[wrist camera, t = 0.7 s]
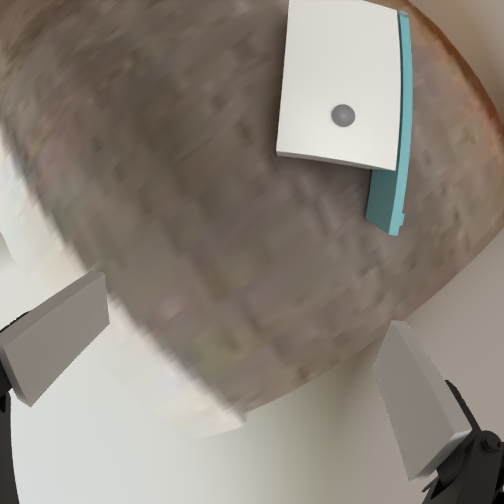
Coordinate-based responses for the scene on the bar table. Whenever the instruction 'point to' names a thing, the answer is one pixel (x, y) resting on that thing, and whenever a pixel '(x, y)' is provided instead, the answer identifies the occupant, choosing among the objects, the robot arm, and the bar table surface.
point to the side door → (394, 182)
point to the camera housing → (341, 84)
